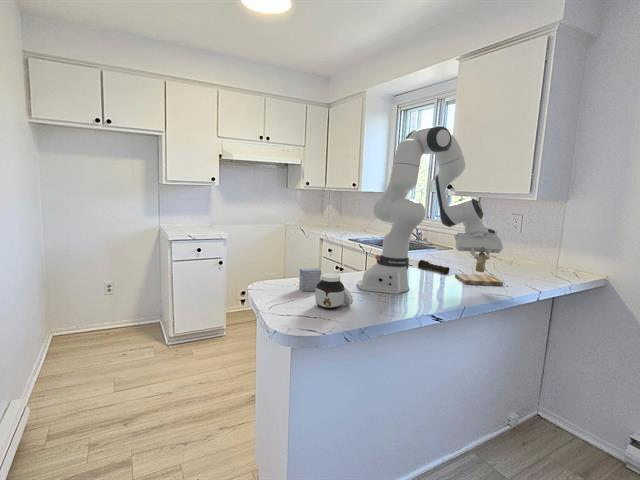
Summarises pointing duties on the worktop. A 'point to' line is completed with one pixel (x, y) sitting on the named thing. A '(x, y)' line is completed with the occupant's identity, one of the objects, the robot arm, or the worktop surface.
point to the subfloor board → (478, 279)
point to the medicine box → (309, 279)
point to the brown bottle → (481, 261)
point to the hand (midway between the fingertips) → (482, 258)
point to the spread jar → (332, 292)
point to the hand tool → (433, 267)
